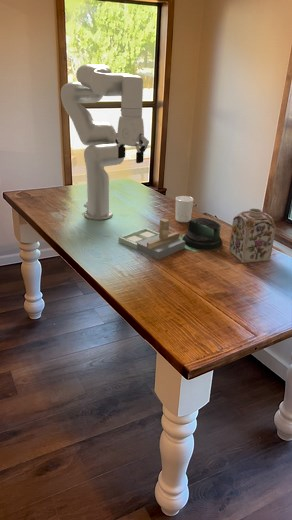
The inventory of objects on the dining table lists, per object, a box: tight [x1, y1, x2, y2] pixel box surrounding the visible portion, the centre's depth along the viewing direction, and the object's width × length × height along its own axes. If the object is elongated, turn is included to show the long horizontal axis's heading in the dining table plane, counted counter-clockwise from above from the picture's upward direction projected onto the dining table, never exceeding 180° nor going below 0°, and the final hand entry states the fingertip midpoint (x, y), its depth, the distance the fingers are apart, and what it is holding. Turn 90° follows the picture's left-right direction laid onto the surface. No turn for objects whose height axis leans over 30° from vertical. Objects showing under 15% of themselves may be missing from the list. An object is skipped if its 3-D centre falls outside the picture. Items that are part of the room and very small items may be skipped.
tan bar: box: [147, 218, 180, 249], centre depth 158 cm, size 2×16×9 cm, turn 135°
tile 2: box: [139, 232, 155, 240], centre depth 170 cm, size 4×4×2 cm
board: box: [136, 235, 186, 260], centre depth 161 cm, size 11×15×3 cm
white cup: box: [174, 195, 194, 223], centre depth 189 cm, size 8×8×10 cm
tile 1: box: [126, 236, 143, 244], centre depth 165 cm, size 4×4×2 cm
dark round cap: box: [178, 217, 223, 253], centre depth 167 cm, size 20×20×9 cm
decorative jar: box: [228, 208, 277, 264], centre depth 155 cm, size 12×12×18 cm
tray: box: [118, 227, 159, 251], centre depth 167 cm, size 10×15×2 cm, turn 136°
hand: (130, 160), depth 161 cm, fingers open, 9 cm apart
